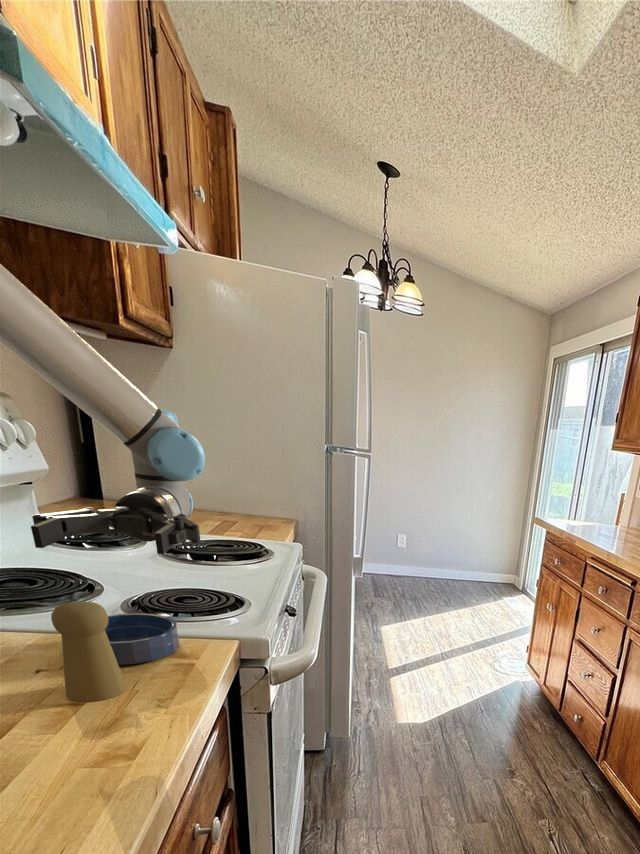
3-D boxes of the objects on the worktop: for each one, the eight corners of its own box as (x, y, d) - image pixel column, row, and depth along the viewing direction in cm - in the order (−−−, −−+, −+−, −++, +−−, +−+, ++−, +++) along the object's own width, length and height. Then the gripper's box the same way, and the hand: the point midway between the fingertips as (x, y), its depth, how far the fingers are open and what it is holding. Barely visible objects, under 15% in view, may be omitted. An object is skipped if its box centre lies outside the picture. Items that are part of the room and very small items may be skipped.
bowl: (57, 666, 72) (51, 641, 71) (102, 633, 83) (98, 611, 82) (161, 668, 75) (156, 644, 73) (191, 637, 86) (188, 615, 84)
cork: (53, 693, 66) (29, 605, 61) (103, 676, 71) (85, 593, 67) (89, 706, 64) (68, 616, 60) (138, 687, 69) (122, 603, 65)
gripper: (234, 542, 96) (209, 573, 77) (62, 532, 88) (-11, 564, 70) (230, 496, 93) (203, 518, 74) (51, 483, 85) (-28, 502, 67)
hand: (99, 540), depth 72 cm, fingers open, 13 cm apart
